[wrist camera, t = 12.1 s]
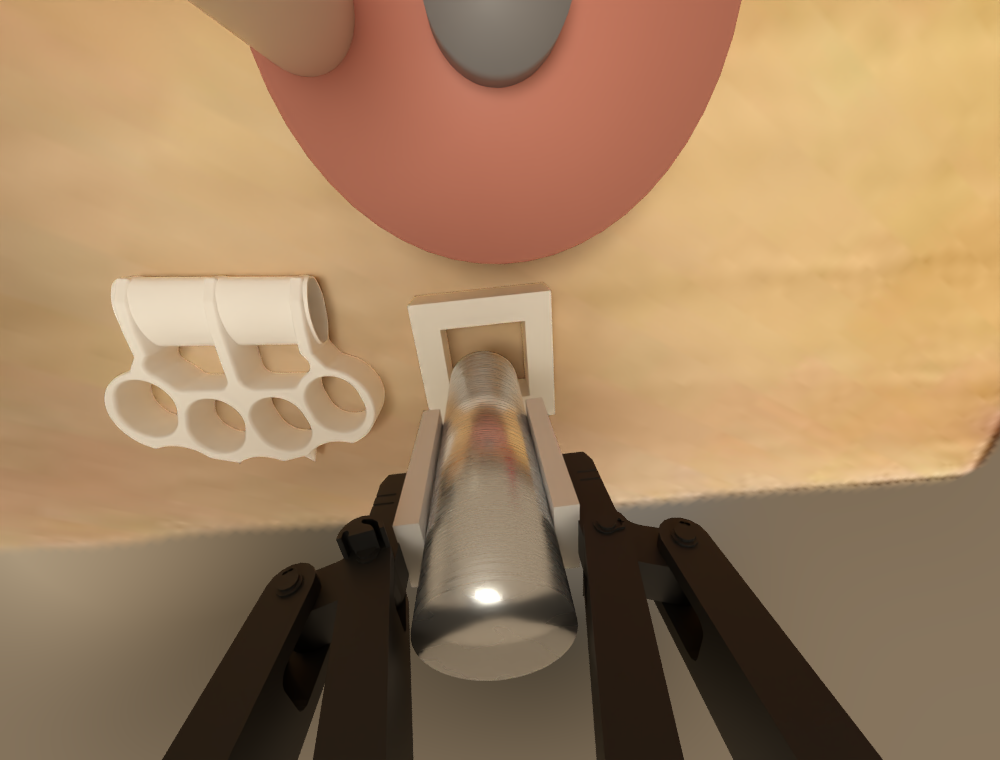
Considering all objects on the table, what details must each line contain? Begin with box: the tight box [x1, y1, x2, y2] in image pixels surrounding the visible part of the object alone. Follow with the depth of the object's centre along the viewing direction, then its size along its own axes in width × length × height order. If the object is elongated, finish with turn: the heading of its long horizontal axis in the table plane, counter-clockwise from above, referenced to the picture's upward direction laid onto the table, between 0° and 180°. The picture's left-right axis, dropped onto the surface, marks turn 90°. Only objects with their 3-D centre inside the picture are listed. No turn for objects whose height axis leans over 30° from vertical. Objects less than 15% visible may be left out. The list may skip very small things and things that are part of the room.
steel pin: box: [411, 351, 578, 681], centre depth 15 cm, size 4×4×14 cm
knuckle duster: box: [104, 275, 385, 464], centre depth 25 cm, size 3×18×15 cm
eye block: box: [407, 282, 555, 423], centre depth 25 cm, size 9×9×3 cm
